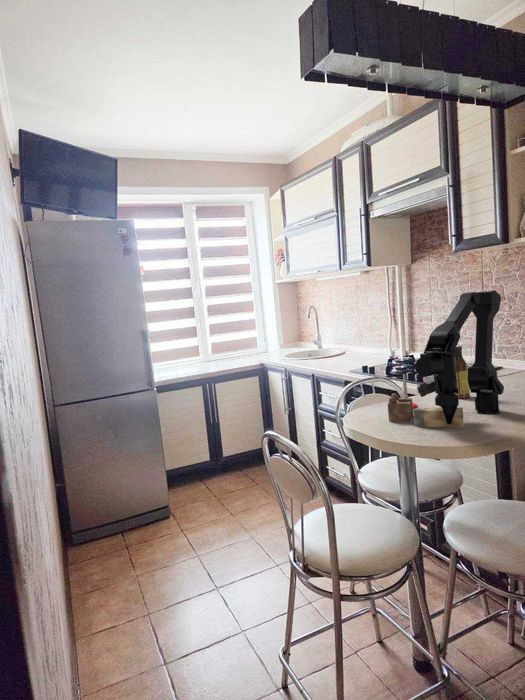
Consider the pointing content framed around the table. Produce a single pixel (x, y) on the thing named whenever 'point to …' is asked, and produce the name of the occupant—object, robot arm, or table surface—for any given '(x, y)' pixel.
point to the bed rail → (437, 418)
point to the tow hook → (406, 391)
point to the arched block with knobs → (400, 408)
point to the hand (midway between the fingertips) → (449, 421)
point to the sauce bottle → (461, 374)
